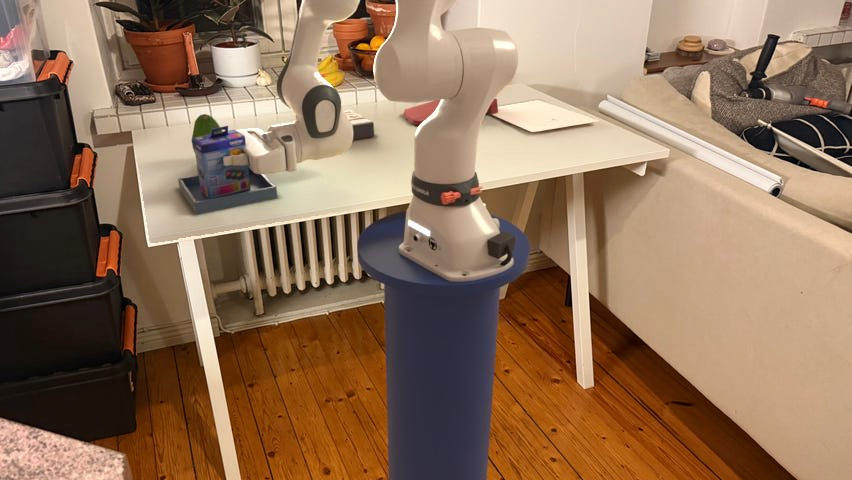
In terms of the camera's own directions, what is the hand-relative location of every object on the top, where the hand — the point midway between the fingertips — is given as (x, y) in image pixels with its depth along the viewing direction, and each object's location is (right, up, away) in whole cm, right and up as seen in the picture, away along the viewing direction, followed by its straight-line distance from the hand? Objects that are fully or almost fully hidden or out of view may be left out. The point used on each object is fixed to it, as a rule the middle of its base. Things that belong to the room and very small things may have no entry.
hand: (218, 156), depth 146 cm
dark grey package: (+24, +13, +40) cm, 48 cm away
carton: (+53, +20, +51) cm, 76 cm away
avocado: (-6, +1, +21) cm, 22 cm away
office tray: (+1, -7, +4) cm, 9 cm away
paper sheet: (+77, +19, +48) cm, 93 cm away
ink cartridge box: (+1, -7, +4) cm, 8 cm away
